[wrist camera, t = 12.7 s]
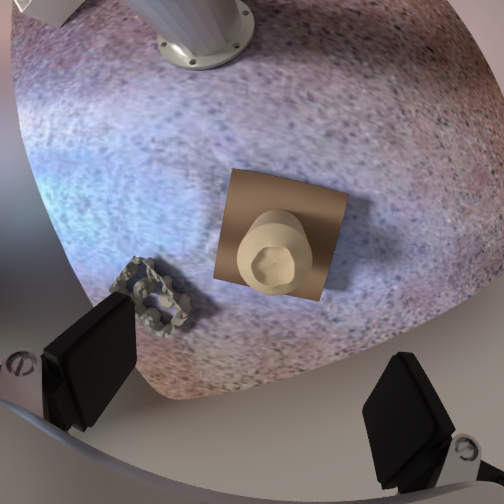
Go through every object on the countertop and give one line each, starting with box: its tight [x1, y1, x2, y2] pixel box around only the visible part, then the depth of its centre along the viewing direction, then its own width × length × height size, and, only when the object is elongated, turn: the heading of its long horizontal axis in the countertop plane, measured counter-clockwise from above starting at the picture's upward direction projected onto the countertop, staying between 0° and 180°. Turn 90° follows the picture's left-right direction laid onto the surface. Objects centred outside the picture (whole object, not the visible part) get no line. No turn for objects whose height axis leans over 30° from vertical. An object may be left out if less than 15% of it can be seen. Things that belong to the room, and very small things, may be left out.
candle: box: [237, 210, 312, 295], centre depth 23 cm, size 6×6×10 cm
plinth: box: [213, 168, 349, 301], centre depth 30 cm, size 12×12×4 cm
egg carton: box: [109, 256, 193, 338], centre depth 34 cm, size 11×8×4 cm
